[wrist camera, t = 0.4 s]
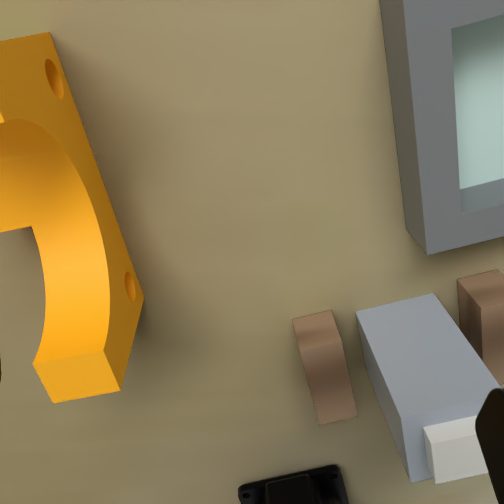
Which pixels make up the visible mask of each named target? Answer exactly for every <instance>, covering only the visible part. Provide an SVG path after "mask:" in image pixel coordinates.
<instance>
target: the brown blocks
mask: <svg viewBox="0 0 504 504" xmlns="http://www.w3.org/2000/svg"><path fill="white" fill-rule="evenodd" d="M457 288H458V304H459V319H460V331H461V332H462V333H463V335H464V336H465V338H466V339H467V340H468V342H469V343H470V345H471V346H472V347H473V349H474V350H475V352H476V353H477V354H478V356H479V357H480V359H481V360H482V361H483V363H484V364H485V365H486V367H487V368H488V370H489V371H490V372H491V374H492V375H493V377H494V378H495V379H496V381H497V382H498V384H502V383H504V276H503V275H502V274H501V273H500V272H499V271H498V270H493V271H489V272H485V273H481V274H477V275H473V276H468V277H464V278H460V279H457ZM292 320H293V324H294V329H295V333H296V338H297V342H298V347H299V351H300V355H301V359H302V362H303V366H304V370H305V374H306V377H307V381H308V385H309V388H310V392H311V396H312V399H313V403H314V407H315V411H316V414H317V418H318V422H319V425H323V424H327V423H331V422H336V421H340V420H344V419H349V418H353V417H358V415H357V410H356V405H355V400H354V396H353V391H352V386H351V382H350V377H349V372H348V368H347V363H346V358H345V354H344V349H343V344H342V340H341V337H340V334H339V332H338V329H337V326H336V323H335V320H334V317H333V315H332V312H331V310H329V311H325V312H321V313H317V314H313V315H309V316H305V317H301V318H297V319H292Z"/></svg>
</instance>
